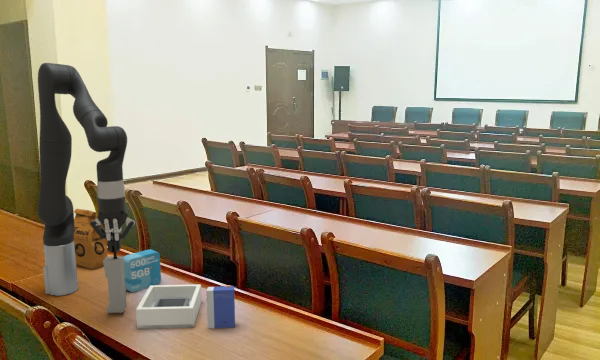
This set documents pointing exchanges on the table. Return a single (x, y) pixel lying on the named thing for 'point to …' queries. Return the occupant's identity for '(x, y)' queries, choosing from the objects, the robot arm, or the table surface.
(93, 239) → the coffee package
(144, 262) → the data package
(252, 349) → the table surface
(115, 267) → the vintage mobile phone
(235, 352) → the table surface
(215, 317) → the walkman
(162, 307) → the box
